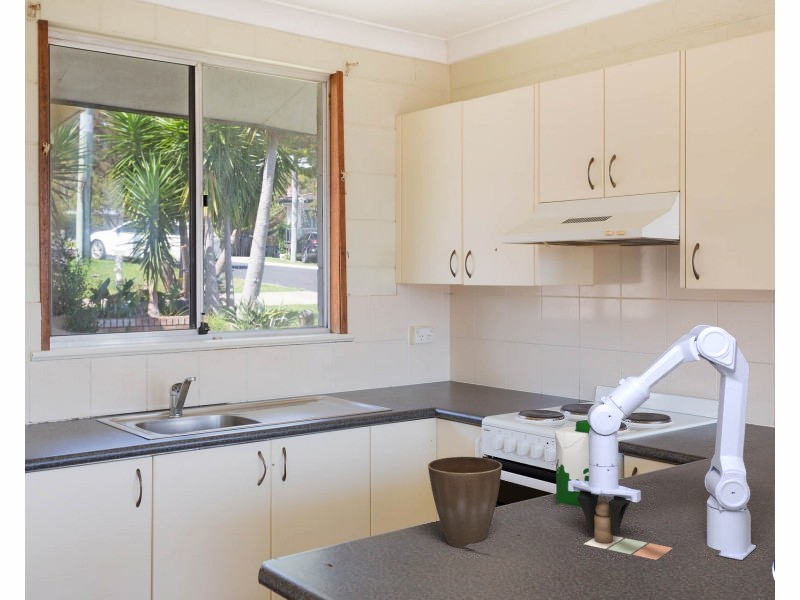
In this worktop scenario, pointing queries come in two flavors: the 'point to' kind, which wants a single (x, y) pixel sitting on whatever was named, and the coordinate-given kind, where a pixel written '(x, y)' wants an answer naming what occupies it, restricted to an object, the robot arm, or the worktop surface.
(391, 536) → the worktop surface
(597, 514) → the pawn
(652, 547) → the board
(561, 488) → the milk carton
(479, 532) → the plant pot
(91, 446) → the worktop surface
